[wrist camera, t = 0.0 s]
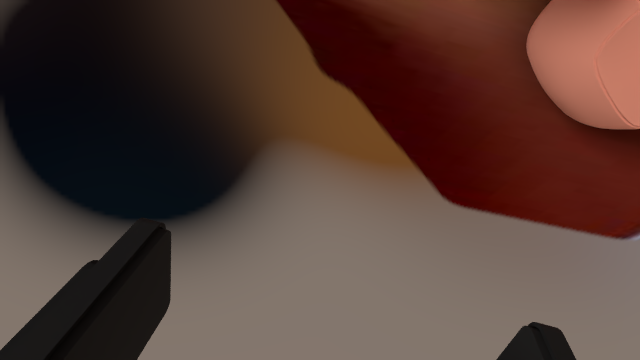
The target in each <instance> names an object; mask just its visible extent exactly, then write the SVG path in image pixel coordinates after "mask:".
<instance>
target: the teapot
mask: <svg viewBox="0 0 640 360" xmlns="http://www.w3.org/2000/svg"><path fill="white" fill-rule="evenodd" d="M526 47H527V54H528V57H529V60H530V63H531V66H532V68H533V70H534V72H535V75H536V77H537V79H538V81H539V82H540V84H541V86H542V88H543V89H544V91H545V92H546V93H547V95H548V96H549V97H550V98H551V100H552V101H553V102H554V103H555V104H556V105H557V106H558V107H559V108H560V109H561V110H562V111H563V112H564V113H565V114H566V115H568V116H569V117H571V118H573V119H574V120H576V121H578V122H581V123H583V124H586V125H589V126H593V127H597V128H603V129H640V0H551V1H550V2H549V4H548V5H547V6H546V7H545V8H544V9H543V11H542V12H541V13H540V15H539V16H538V17H537V19H536V20H535V22H534V23H533V25H532V27H531V29H530V31H529V34H528V37H527V44H526Z"/></svg>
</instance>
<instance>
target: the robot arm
mask: <svg viewBox="0 0 640 360" xmlns="http://www.w3.org/2000/svg"><path fill="white" fill-rule="evenodd" d="M170 274H171V232H170V231H169V230H166V227H165V224H164V223H160V222H157V221H153V220H149V219H146V218H140V219H139V220H137V221H136V222H135V223H134V225H132V226H131V228H130V229H129V230H128V231H127V232H126V233H125V234H124V235H123V236H122V237H121V238H120V239H119V240H118V241H117V242H116V243H115V244H114V245H113V246H112V247H111V248H110V250H109V251H108V252H107V253H106V254H105V255H104V256H103V257H102V258H101V259H100V260H99V261H98V260H93V261H91V262H89V263H87V264H86V265H85V266H84V267H82V268H81V269H80V270H79V272H77V273H76V274H75V275H74V276H73V278H71V279H70V281H68V283H67V284H66V285H65V286H64V287H63V288H62V289H61V290H60V291H59V292H58V293H57V294H56V295H55V296H54V297H53V298H52V299H51V300H50V301H49V302H48V303H47V304H46V305H45V306H44V307H43V308H42V309H41V310H40V311H39V312H38V313H37V314H36V315H35V316H34V317H33V318H32V319H31V320H30V321H29V322H28V323H27V324H26V325H25V326H24V327H23V328H22V329H21V330H20V331H19V332H18V333H17V334H16V335H15V336H14V337H13V338H12V339H11V340H10V341H9V342H8V343H7V344H6V345H5V346H4V347H3V348H2V349H1V350H0V360H137V359H138V357H139V355H140V354H141V352H142V351H143V349H144V347H145V346H146V344H147V342H148V341H149V339H150V338H151V336H152V334H153V333H154V331H155V329H156V328H157V326H158V325H159V323H160V321H161V320H162V318H163V317H164V315H165V313H166V311H167V309H168V307H169V303H170V282H171V275H170ZM497 360H576V358H575V356H574V355H573V352H572V350H571V348H570V346H569V344H568V342H567V341H566V338H565V336H564V335H563V333H562V331H561V330H559V329H558V328H555V327H552V326H548V325H544V324H540V323H537V322H532V323H530V324H529V325H528V326H524V327H522V328H521V329H520V331H519V332H518V333H517V334H516V336H515V337H514V338H513V339H512V341H511V342H510V343H509V344H508V346H507V347H506V348H505V350H504V351H503V352H502V353H501V355H500V356H499V357H498V359H497Z"/></svg>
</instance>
